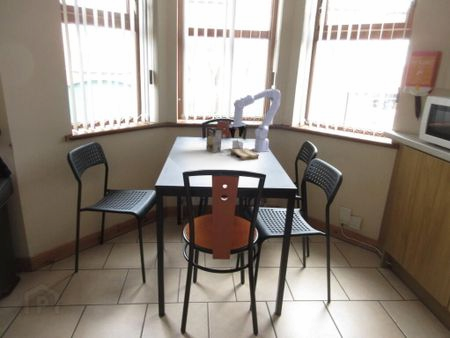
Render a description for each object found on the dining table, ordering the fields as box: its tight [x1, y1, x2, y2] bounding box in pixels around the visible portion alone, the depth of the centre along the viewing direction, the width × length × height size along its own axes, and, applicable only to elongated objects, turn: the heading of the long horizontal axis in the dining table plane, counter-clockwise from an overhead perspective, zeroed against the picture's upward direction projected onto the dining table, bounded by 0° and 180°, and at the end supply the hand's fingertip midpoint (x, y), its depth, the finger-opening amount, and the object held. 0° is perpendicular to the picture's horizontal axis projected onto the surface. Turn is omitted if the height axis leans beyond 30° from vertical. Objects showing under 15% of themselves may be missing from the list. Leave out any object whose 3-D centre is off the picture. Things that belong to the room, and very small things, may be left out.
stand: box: [230, 148, 260, 161], centre depth 207 cm, size 12×16×3 cm
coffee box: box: [205, 126, 223, 154], centre depth 214 cm, size 9×6×16 cm
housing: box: [231, 139, 244, 150], centre depth 222 cm, size 4×8×7 cm, turn 28°
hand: (236, 137), depth 218 cm, fingers open, 7 cm apart
